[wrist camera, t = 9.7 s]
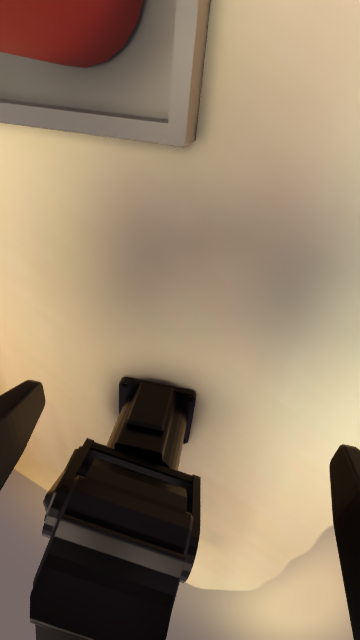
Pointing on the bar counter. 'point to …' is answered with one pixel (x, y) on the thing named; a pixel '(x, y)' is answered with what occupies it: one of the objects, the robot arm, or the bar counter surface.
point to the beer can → (67, 29)
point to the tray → (119, 82)
